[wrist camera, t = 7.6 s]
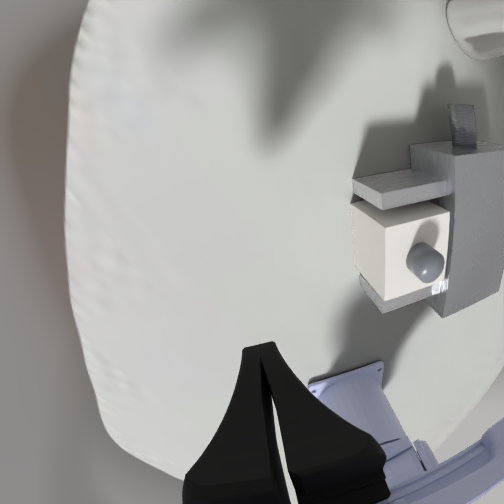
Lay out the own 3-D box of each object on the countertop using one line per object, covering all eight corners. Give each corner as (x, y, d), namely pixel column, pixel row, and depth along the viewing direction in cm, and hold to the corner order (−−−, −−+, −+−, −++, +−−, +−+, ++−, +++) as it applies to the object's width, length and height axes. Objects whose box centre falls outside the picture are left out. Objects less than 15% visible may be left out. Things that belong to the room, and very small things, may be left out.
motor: (466, 265, 24) (498, 290, 19) (360, 302, 24) (387, 340, 19) (467, 103, 17) (512, 108, 13) (341, 109, 17) (380, 108, 13)
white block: (408, 250, 22) (456, 291, 16) (354, 266, 22) (395, 314, 16) (408, 191, 20) (465, 219, 14) (349, 203, 20) (398, 238, 14)
